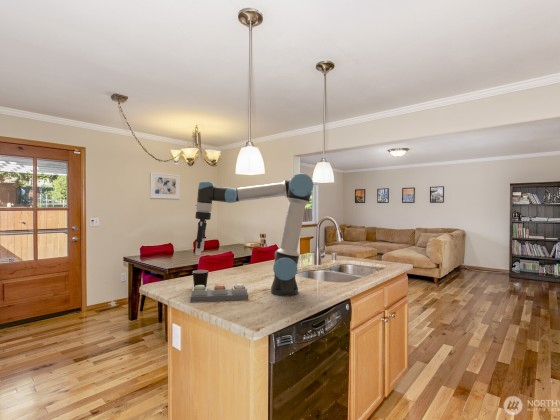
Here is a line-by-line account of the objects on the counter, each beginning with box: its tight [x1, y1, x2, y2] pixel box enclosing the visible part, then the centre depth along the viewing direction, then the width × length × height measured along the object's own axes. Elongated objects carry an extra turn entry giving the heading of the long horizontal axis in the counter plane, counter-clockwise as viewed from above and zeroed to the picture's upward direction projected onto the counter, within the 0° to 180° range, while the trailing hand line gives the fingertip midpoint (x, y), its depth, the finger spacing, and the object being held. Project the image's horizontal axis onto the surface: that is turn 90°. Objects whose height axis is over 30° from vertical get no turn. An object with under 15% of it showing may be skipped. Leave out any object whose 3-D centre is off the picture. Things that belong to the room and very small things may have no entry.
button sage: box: [195, 285, 205, 291], centre depth 157 cm, size 5×5×2 cm
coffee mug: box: [192, 269, 209, 287], centre depth 175 cm, size 12×9×10 cm
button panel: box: [190, 285, 249, 303], centre depth 159 cm, size 28×12×5 cm, turn 103°
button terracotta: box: [214, 283, 226, 290], centre depth 159 cm, size 5×5×2 cm
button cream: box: [234, 283, 245, 289], centre depth 161 cm, size 5×5×2 cm
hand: (199, 252), depth 159 cm, fingers open, 13 cm apart
